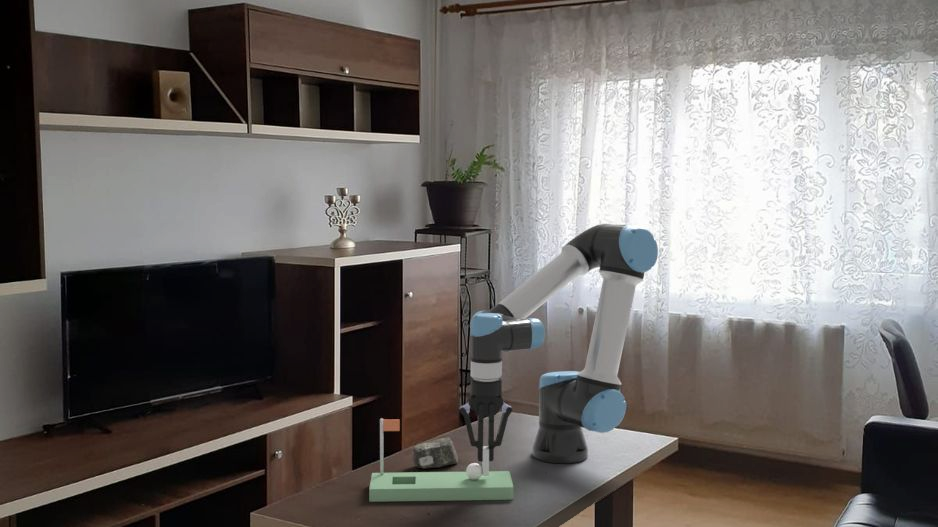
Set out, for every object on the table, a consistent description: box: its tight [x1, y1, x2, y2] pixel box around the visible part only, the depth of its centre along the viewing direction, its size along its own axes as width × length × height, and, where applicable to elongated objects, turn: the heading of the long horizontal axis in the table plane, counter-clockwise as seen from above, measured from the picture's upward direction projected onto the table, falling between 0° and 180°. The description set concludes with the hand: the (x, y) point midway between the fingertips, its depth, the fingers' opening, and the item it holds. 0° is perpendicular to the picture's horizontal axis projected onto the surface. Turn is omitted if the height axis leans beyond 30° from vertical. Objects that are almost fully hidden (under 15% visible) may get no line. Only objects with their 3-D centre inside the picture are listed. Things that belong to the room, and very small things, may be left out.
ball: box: [465, 462, 482, 480], centre depth 225 cm, size 4×4×4 cm
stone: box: [411, 436, 459, 470], centre depth 245 cm, size 14×7×10 cm, turn 127°
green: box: [368, 418, 515, 503], centre depth 224 cm, size 34×12×17 cm, turn 93°
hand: (485, 473), depth 225 cm, fingers closed
